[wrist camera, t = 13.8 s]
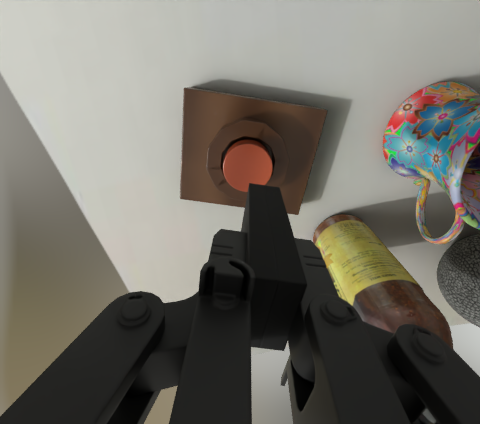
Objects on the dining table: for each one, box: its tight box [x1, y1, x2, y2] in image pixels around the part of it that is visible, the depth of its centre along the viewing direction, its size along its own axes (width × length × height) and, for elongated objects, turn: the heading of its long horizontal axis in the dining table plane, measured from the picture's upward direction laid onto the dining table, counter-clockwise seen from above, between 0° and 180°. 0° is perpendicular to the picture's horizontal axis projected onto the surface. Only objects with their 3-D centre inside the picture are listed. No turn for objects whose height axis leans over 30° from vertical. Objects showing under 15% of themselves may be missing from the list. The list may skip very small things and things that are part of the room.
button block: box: [180, 87, 327, 215], centre depth 23 cm, size 12×10×4 cm
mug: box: [383, 82, 480, 244], centre depth 20 cm, size 12×9×11 cm
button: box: [223, 139, 273, 192], centre depth 21 cm, size 4×4×2 cm
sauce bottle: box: [313, 214, 453, 423], centre depth 20 cm, size 6×6×20 cm
